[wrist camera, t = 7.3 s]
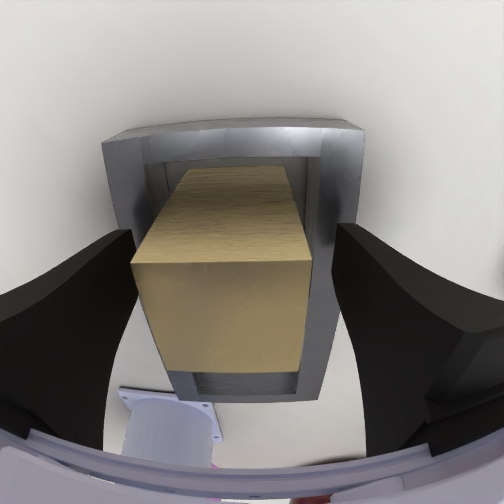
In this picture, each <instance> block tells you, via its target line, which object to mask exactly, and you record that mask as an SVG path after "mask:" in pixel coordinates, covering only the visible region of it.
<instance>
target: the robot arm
mask: <svg viewBox="0 0 504 504" xmlns="http://www.w3.org/2000/svg"><path fill="white" fill-rule="evenodd" d="M136 252H137V250H136V246H135V242H134V238H133V234H132V230H131V229H122V230H115V231H113V232H111V233H109V234H107V235H105V236H103V237H102V238H100V239H98V240H97V241H95V242H94V243H92V244H90V245H89V246H87V247H86V248H84V249H83V250H81V251H80V252H78V253H77V254H75V255H73V256H72V257H70V258H69V259H67V260H66V261H64V262H62V263H61V264H59V265H58V266H56V267H55V268H53V269H51V270H50V271H48V272H46V273H44V274H43V275H41V276H39V277H37V278H35V279H33V280H32V281H30V282H28V283H26V284H24V285H22V286H19V287H17V288H15V289H13V290H11V291H9V292H7V293H4V294H2V295H0V504H248V503H236V502H222V501H212V500H206V498H216V499H240V500H242V499H243V500H262V499H263V500H264V499H287V498H301V497H311V496H320V495H328V494H333V495H332V496H331V497H330V500H331V502H330V503H328V504H501V503H502V502H504V301H502V300H498V299H495V298H492V297H489V296H486V295H483V294H480V293H478V292H475V291H473V290H470V289H467V288H465V287H463V286H461V285H458V284H456V283H454V282H451V281H449V280H447V279H445V278H443V277H441V276H439V275H437V274H435V273H433V272H431V271H430V270H428V269H426V268H424V267H422V266H420V265H419V264H417V263H415V262H414V261H412V260H411V259H409V258H407V257H406V256H404V255H402V254H401V253H399V252H398V251H396V250H395V249H393V248H392V247H390V246H389V245H387V244H386V243H384V242H383V241H382V240H380V239H379V238H377V237H376V236H374V235H373V234H371V233H370V232H368V231H367V230H365V229H364V228H362V227H361V226H359V225H357V224H355V223H337V229H336V237H335V245H334V253H333V260H332V268H331V275H332V280H333V286H334V290H335V295H336V298H337V301H338V304H339V307H340V310H341V313H342V316H343V319H344V322H345V324H346V327H347V330H348V333H349V336H350V339H351V342H352V346H353V349H354V353H355V357H356V362H357V368H358V373H359V379H360V385H361V392H362V400H363V409H364V419H365V431H366V458H363V459H358V460H352V461H346V462H339V463H332V464H324V465H315V466H305V467H292V468H273V469H227V468H211V459H212V446H213V442H222V441H223V437H222V434H221V430H220V427H219V424H218V421H217V417H216V414H215V410H214V407H213V403H212V402H192V401H179V400H178V398H177V395H176V394H170V393H159V392H149V391H140V390H132V389H125V388H119V389H118V392H117V393H118V395H119V396H120V398H121V399H122V400H123V402H124V403H125V405H126V406H127V407H128V409H129V410H130V412H131V416H130V420H129V424H128V428H127V432H126V436H125V440H124V445H123V449H122V453H121V455H117V454H113V453H108V452H104V451H103V430H104V417H105V407H106V399H107V393H108V387H109V381H110V376H111V372H112V367H113V363H114V359H115V355H116V352H117V349H118V346H119V343H120V341H121V338H122V335H123V333H124V330H125V328H126V325H127V323H128V321H129V318H130V316H131V313H132V311H133V308H134V306H135V303H136V301H137V298H138V295H139V292H138V288H137V285H136V282H135V279H134V275H133V272H132V268H131V265H130V262H131V261H132V259H133V257H134V255H135V254H136ZM82 473H83V474H82ZM85 474H86V475H85ZM87 475H90V476H93V477H96V478H100V479H103V480H107V481H111V482H114V483H115V484H112V483H108V482H105V481H101V480H98V479H94V478H91V477H89V476H87Z"/></svg>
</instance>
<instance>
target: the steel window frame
mask: <svg viewBox="0 0 504 504" xmlns="http://www.w3.org/2000/svg"><path fill="white" fill-rule="evenodd" d="M364 137H365V130H363V129H361V128H359V127H357V126H355V125H353V124H351V123H349V122H347V121H345V120H336V119H316V118H242V119H222V120H207V121H195V122H184V123H175V124H166V125H158V126H150V127H143V128H136V129H130V130H126V131H124V132H122V133H120V134H118V135H116V136H114V137H112V138H110V139H108V140H106V141H104V142H102V143H101V144H102V151H103V156H104V162H105V167H106V173H107V178H108V183H109V188H110V192H111V197H112V202H113V206H114V210H115V215H116V219H117V223H118V227H119V230H122V229H131V230H132V234H133V238H134V242H135V246H136V250H138V248H139V247H140V245H141V243H142V241H143V240H144V238H145V236H146V235H147V233H148V231H149V230H150V228H151V226H152V225H153V223H154V221H155V220H156V218H157V217H158V215H159V213H160V212H161V210H162V208H163V207H164V205H165V204H166V202H167V201H168V199H169V192H168V185H167V178H166V171H165V163H164V162H175V161H187V160H201V159H218V158H240V157H308V163H307V189H306V210H305V228H304V233H305V237H306V240H307V243H308V247H309V250H310V254H311V257H312V268H311V278H310V287H309V296H308V304H307V312H306V320H305V328H304V335H303V343H302V350H301V357H300V363H299V370H298V371H292V372H264V373H217V372H189V371H172V370H166V367H165V365H164V362H163V360H162V357H161V355H160V352H159V349H158V347H157V344H156V341H155V339H154V336H153V333H152V330H151V327H150V325H149V322H148V319H147V316H146V313H145V310H144V307H143V304H142V301H141V298H140V295H138V296H139V299H140V302H141V305H142V308H143V311H144V314H145V317H146V320H147V323H148V325H149V328H150V331H151V334H152V336H153V339H154V342H155V344H156V347H157V350H158V352H159V355H160V357H161V360H162V362H163V365H164V367H165V370H166V372H167V374H168V377H169V379H170V382H171V384H172V386H173V389H174V391H175V393H176V395H177V398H178V400H179V401H192V402H213V403H274V402H295V401H309V400H318V397H319V393H320V390H321V386H322V383H323V379H324V375H325V372H326V368H327V364H328V360H329V356H330V352H331V348H332V344H333V340H334V335H335V331H336V327H337V322H338V318H339V313H340V307H339V304H338V301H337V298H336V295H335V290H334V286H333V280H332V275H331V268H332V260H333V253H334V245H335V237H336V229H337V223H355V222H356V215H357V208H358V200H359V191H360V182H361V173H362V162H363V150H364Z"/></svg>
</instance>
